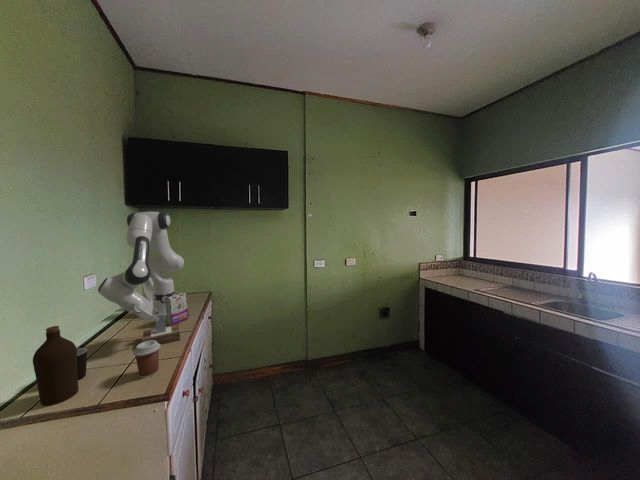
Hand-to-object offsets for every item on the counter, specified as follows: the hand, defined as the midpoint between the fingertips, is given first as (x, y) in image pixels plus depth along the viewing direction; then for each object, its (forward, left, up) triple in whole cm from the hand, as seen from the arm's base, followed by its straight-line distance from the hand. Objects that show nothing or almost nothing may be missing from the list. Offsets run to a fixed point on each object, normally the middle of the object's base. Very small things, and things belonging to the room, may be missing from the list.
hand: (158, 317), depth 131 cm
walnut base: (0, +1, -12) cm, 12 cm away
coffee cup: (+33, -3, -12) cm, 35 cm away
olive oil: (+32, -29, -12) cm, 45 cm away
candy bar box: (-23, +9, -12) cm, 27 cm away
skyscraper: (-65, -7, -12) cm, 67 cm away
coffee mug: (+19, -29, -12) cm, 37 cm away
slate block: (0, +1, -8) cm, 8 cm away
